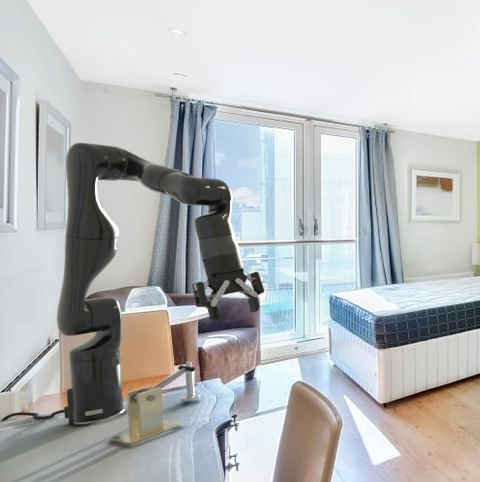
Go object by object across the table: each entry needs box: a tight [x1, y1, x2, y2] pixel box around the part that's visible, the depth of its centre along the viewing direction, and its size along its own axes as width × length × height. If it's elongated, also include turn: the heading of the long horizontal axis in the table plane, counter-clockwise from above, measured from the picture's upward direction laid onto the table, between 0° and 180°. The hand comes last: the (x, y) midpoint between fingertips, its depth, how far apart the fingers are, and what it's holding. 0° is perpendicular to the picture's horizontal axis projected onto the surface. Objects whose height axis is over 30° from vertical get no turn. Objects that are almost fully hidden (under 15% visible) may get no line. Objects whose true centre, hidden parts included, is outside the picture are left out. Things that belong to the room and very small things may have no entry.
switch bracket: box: [110, 385, 182, 445], centre depth 108 cm, size 10×8×12 cm
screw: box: [179, 360, 202, 404], centre depth 127 cm, size 13×5×5 cm
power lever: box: [133, 365, 196, 402], centre depth 111 cm, size 12×5×2 cm, turn 161°
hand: (236, 316), depth 110 cm, fingers open, 8 cm apart
